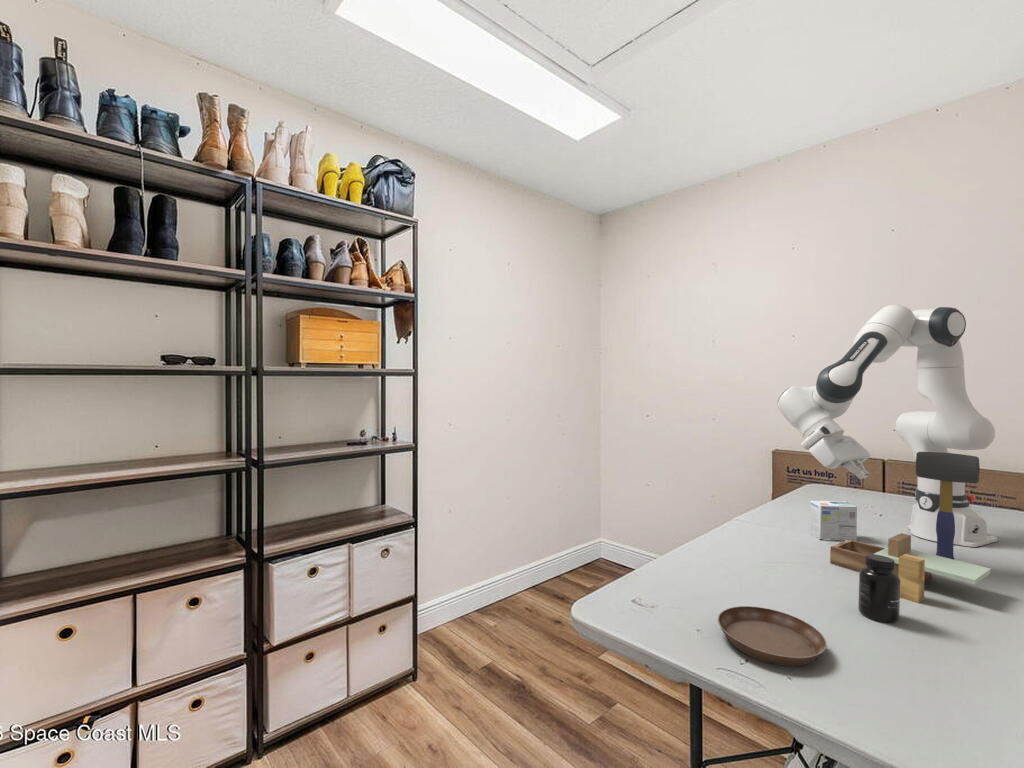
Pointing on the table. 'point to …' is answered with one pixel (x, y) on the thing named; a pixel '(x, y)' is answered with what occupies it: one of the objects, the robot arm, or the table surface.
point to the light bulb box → (833, 520)
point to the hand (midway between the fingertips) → (865, 477)
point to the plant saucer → (772, 635)
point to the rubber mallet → (947, 489)
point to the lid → (934, 561)
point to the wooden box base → (857, 556)
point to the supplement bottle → (879, 589)
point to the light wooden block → (911, 577)
